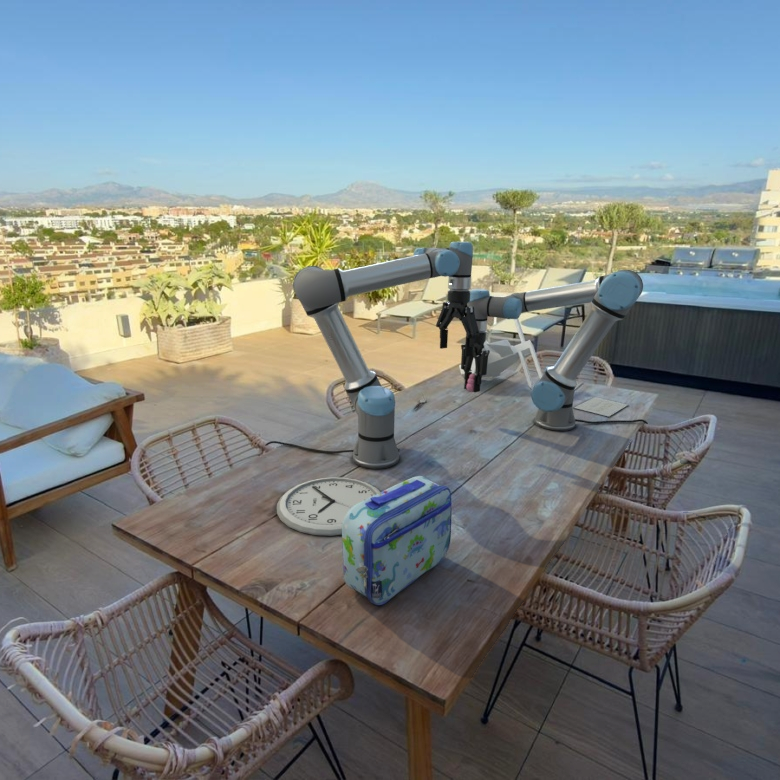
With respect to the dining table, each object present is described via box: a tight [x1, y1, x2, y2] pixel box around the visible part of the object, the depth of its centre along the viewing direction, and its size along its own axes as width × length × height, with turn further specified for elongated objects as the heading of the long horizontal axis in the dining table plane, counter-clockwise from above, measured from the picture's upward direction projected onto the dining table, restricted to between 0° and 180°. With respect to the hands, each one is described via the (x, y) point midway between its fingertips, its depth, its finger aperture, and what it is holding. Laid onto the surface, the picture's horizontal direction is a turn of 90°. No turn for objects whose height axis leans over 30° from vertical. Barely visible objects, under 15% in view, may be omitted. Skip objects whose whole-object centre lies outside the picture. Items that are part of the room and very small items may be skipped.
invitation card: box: [573, 396, 629, 418], centre depth 226 cm, size 21×1×15 cm
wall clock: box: [276, 476, 382, 537], centre depth 142 cm, size 30×2×30 cm
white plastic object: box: [458, 318, 544, 391], centre depth 254 cm, size 37×45×31 cm
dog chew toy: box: [466, 373, 475, 393], centre depth 203 cm, size 4×4×7 cm
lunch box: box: [341, 475, 453, 606], centre depth 111 cm, size 26×11×21 cm, turn 134°
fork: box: [413, 394, 428, 410], centre depth 224 cm, size 3×16×2 cm, turn 160°
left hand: (455, 352), depth 181 cm, fingers open, 13 cm apart
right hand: (472, 389), depth 204 cm, fingers closed on dog chew toy, 4 cm apart
